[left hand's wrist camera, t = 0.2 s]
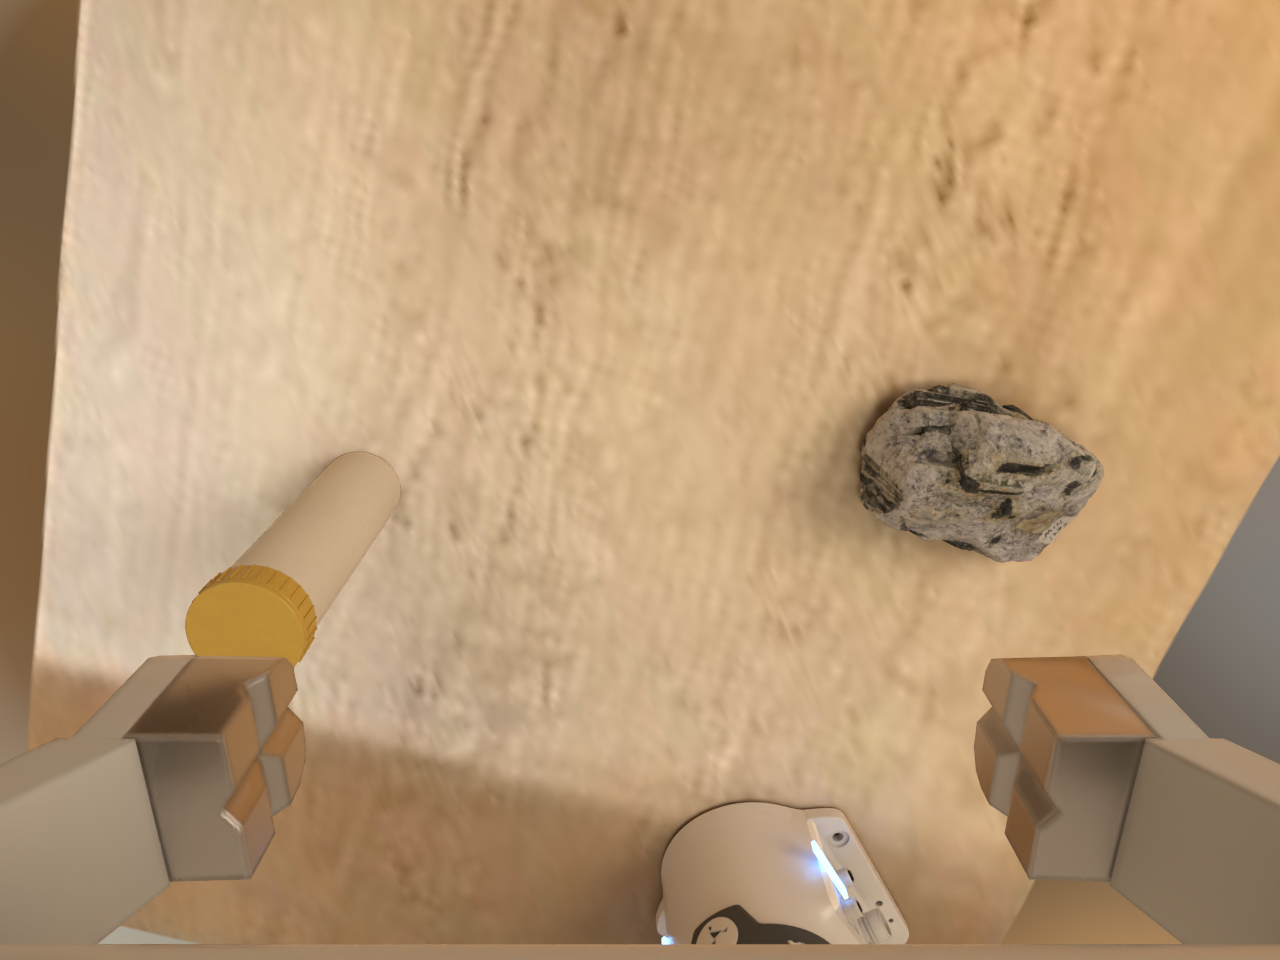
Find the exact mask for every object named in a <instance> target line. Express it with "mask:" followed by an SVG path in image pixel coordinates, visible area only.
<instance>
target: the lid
mask: <svg viewBox="0 0 1280 960" xmlns="http://www.w3.org/2000/svg"><path fill="white" fill-rule="evenodd" d="M198 594H199V595H198V596H197V597H196V598H195V599H194V600H193V601H192V604H191V606H190V607H189V610H188V612H187V616H186V625H185V628H186V635H187V639H188V642H189V644H190V646H191V648H192V650H193V652H194V653H195V655H197V656H246V657H285V658H286V659H287V660H288V661H289V662H290V663H291V664H292V665H293V668H294V667H295V665H296V664H297V663H298V661H299V662H300V661H301V660H302V658H303V656H304V655H305V653H306V652H307V650H308V649H309V647H310V645H311V643H312V642H313V640H314V638H315V637H314V634H315V631H316V630H317V627H316V619H317V616H316V614H315V610H314V607H315V606H314V605H313V604H312V602H311V600H310V598H309V595H307V593H306V592H305V591H304V589H303V588H302V586H301V585H299V584H298V583H297V582H296V581H294V580H293V579H292V577H289V576H287V575H286V574H284V573H282V572H281V571H277V570H275V569H272V568H269V567H268V566H266V567H264V566H258V565H256V564H253V565H245V566H243V565H240V566H239V567H235V568H231V567H230V568H228V569H227V571H225V572H223V573H221V572H220V573H218V574H217V575H216V577H215V578H214V579H213V580H212V579H211V580H210V581H209V582H208V583H207V584H206V585H205V586H204V587H203V589H202V590H201V591H200V592H199V593H198Z"/></svg>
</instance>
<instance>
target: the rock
mask: <svg viewBox="0 0 1280 960" xmlns="http://www.w3.org/2000/svg"><path fill="white" fill-rule="evenodd" d="M860 451H861V456H862V458H863V460H862V470H861V472H860V477H861V488H860V496H859V498H860V500H861V502H862V503H863V505H864V507H865V508H866V509H868V510H870V511H872V513H873V514H874V517H875V518H876V519H878V520H880V521H881V522H883V523H884V524H885V525H887V526H889V527H891V528H893V529H895V530H897V531H902V530H905V531H907V530H908V531H910V532H912V533H913V534H915V535H917V536H918V537H920V538H922V539H924V540H927V541H937V540H943V541H945V542H947V543H949V544H951V545H953V546H955V547H958V548H960V549H966V550H969V551H970V550H973V551H976V552H978V553H980V554H982V555H984V556H986V557H988V558H991V559H993V560H994V561H997V562H1007V561H1017V562H1021V561H1031V560H1032V559H1034V558H1035V557H1037V556H1038V555H1039V554H1040V553H1041V552H1042V551H1043V549H1044V548H1045V547H1046V546H1047V545H1049V544H1050V543H1051V542H1053V541H1054V540H1056V538H1057V537H1058V535H1059V533H1060V532H1061V530H1062V529H1063V528H1065V527H1066V526H1067V525H1068V524H1069V523H1070V522H1071V521H1072V520H1073V519H1074V518H1075V517H1076V516H1077V515H1078V514H1079V512H1080V511H1081V509H1082V508H1083V507H1084V506H1085V505H1086V503H1087V501H1088V499H1089V498H1090V497H1091V496H1092V495H1093V494H1094V492H1095V491H1096V489H1097V488H1098V486H1099V484H1100V481H1101V479H1102V477H1103V466H1102V465H1101V463H1100V461H1099V460H1098V459H1097V458H1096V457H1095V456H1094V455H1093V454H1092V453H1091V452H1089V451H1087V450H1086V449H1085V448H1084V447H1083V446H1082V445H1079V444H1076V443H1075V442H1074V441H1072V440H1070V439H1069V438H1067V437H1066V436H1065V435H1064V434H1062V433H1061V432H1059V431H1058V430H1057V429H1056V428H1054V427H1053V426H1052V425H1050V424H1047V423H1045V422H1041V421H1038V420H1035V419H1032V418H1030V417H1029V416H1028V415H1027V414H1026V413H1024V412H1023V411H1022V410H1020V409H1019V408H1017V407H1015V406H1014V405H1004V406H1003V407H1001V406H1000V405H999V404H997V403H996V402H995V401H994V400H993V399H991V398H990V397H989V396H987V395H985V394H980V393H979V392H978V391H977V390H975V389H970V388H967V387H964V386H961V385H958V384H949V386H948V388H946V387H942V386H936V387H934V388H932V389H930V390H928V389H920V388H913V389H911V390H910V391H907V392H905V393H903V394H901V395H900V396H899V397H898V398H897V399H896V400H895V402H894V403H893V404H892V405H891V407H890V408H889V410H888V411H887V412H885V413H884V414H883V415H882V416H881V417H879V418H878V420H877V422H876V423H875V425H874V427H873V428H872V429H871V430H870V431H869V432H868V433H867V434H866V436H865V438H864V441H863V443H862V445H861V450H860Z"/></svg>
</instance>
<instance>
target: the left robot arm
mask: <svg viewBox="0 0 1280 960" xmlns="http://www.w3.org/2000/svg"><path fill="white" fill-rule="evenodd" d="M297 690H298V688H297V684H296V679H295V674H294V669H293V665H292V664H291V663H290V662H289V661H288V660H287V659H286V658H285V657H246V656H197V655H167V656H156V657H151V658H148V659H147V660H146V661H145V662H144V663H143V664H142V665H141V666H140V667H139V668H138V669H137V670H136V672H135V673H134V674H133V675H132V676H131V677H130V678H129V679H128V680H127V681H126V682H125V683H124V684H123V685H122V686H121V687H120V688H119V689H118V690H117V691H116V692H115V693H114V694H113V695H112V696H111V697H110V698H109V699H108V701H107V702H106V703H105V704H104V705H103V706H102V707H101V708H100V709H99V710H98V711H97V712H96V713H95V714H94V715H93V716H92V717H91V718H90V719H89V720H88V721H87V722H86V723H85V724H84V725H83V726H82V727H81V728H80V729H79V731H78V732H77V733H76V734H75V735H74V736H73V737H72V738H71V739H54V740H52V741H50V742H48V743H46V744H44V745H41V746H39V747H37V748H35V749H33V750H31V751H28V752H26V753H24V754H22V755H20V756H17V757H15V758H13V759H11V760H9V761H7V762H4V763H2V764H0V960H1280V764H1278V763H1276V762H1273V761H1271V760H1269V759H1267V758H1265V757H1262V756H1260V755H1258V754H1256V753H1254V752H1252V751H1249V750H1247V749H1245V748H1243V747H1241V746H1239V745H1236V744H1234V743H1232V742H1230V741H1228V740H1225V739H1209V738H1208V737H1207V736H1206V735H1205V734H1204V733H1203V731H1202V730H1201V729H1200V728H1199V727H1198V726H1197V725H1196V724H1195V723H1194V722H1193V721H1192V720H1191V719H1190V718H1189V717H1188V716H1187V715H1186V714H1185V713H1184V712H1183V711H1182V710H1181V709H1180V708H1179V707H1178V706H1177V705H1176V703H1174V701H1173V700H1172V699H1171V698H1170V697H1169V696H1168V695H1167V694H1166V693H1165V692H1164V691H1163V690H1162V689H1161V688H1160V687H1159V686H1158V685H1157V684H1156V683H1155V682H1154V681H1153V680H1152V679H1151V678H1150V677H1149V675H1148V674H1147V673H1146V672H1145V671H1144V670H1143V669H1142V668H1141V667H1140V666H1139V665H1138V664H1137V663H1136V662H1135V661H1134V660H1133V659H1131V658H1128V657H1126V656H1124V655H1100V656H1078V657H1039V658H1000V659H991V661H990V663H989V665H988V667H987V669H986V671H985V677H984V683H983V688H982V690H983V692H984V694H985V695H986V697H987V698H988V700H989V702H990V703H991V705H992V707H991V708H990V709H989V710H988V711H987V713H986V714H985V715H984V716H983V717H982V718H981V719H980V720H979V721H978V722H977V726H976V734H975V742H974V753H975V764H976V772H977V776H978V779H979V782H980V786H981V789H982V791H983V793H984V795H985V797H986V799H987V801H988V803H989V804H990V805H991V806H993V807H994V808H996V809H997V810H998V811H1000V812H1001V813H1003V814H1004V815H1006V816H1007V817H1008V818H1007V823H1006V829H1005V835H1006V837H1007V839H1008V840H1009V842H1010V844H1011V846H1012V848H1013V850H1014V852H1015V853H1016V855H1017V857H1018V859H1019V861H1020V863H1021V865H1022V866H1023V868H1024V870H1025V872H1026V874H1027V876H1028V878H1029V879H1035V880H1071V881H1109V882H1110V886H1111V887H1113V888H1114V889H1115V890H1116V891H1117V892H1119V893H1120V894H1121V895H1122V896H1124V897H1125V898H1126V899H1127V900H1129V901H1130V902H1131V903H1132V904H1134V905H1135V906H1136V907H1138V908H1139V909H1140V910H1141V911H1143V912H1144V913H1145V914H1146V915H1148V916H1149V917H1150V918H1151V919H1152V920H1154V921H1155V922H1156V923H1157V924H1159V925H1160V926H1161V927H1162V928H1164V929H1165V930H1166V931H1167V932H1169V933H1170V934H1171V935H1173V936H1174V937H1175V938H1176V939H1177V940H1179V941H1180V942H1181V943H1182V944H98V943H99V942H100V941H101V940H103V939H104V938H105V937H107V936H108V935H109V934H110V933H112V932H113V931H114V930H115V929H116V928H118V927H119V926H120V925H122V924H123V923H124V922H125V921H127V920H128V919H129V918H130V917H132V916H133V915H134V914H135V913H137V912H138V911H139V910H140V909H142V908H143V907H144V906H145V905H147V904H148V903H149V902H150V901H152V900H153V899H154V898H155V897H157V896H158V895H159V894H160V893H162V892H163V891H164V890H165V889H167V888H168V887H169V886H170V882H172V881H207V880H242V879H251V878H252V876H253V874H254V872H255V870H256V868H257V867H258V865H259V863H260V861H261V859H262V857H263V855H264V853H265V852H266V850H267V848H268V846H269V844H270V842H271V840H272V839H273V837H274V835H275V829H274V823H273V818H272V817H273V816H274V815H276V814H277V813H279V812H280V811H282V810H283V809H284V808H286V807H287V806H289V805H290V804H291V802H292V800H293V798H294V796H295V794H296V792H297V790H298V788H299V786H300V783H301V778H302V774H303V769H304V765H305V755H306V739H305V732H304V726H303V722H302V721H301V720H300V719H299V718H298V717H297V716H296V715H295V714H294V713H293V712H292V710H291V709H290V708H289V707H288V705H289V703H290V702H291V700H292V698H293V697H294V695H295V694H296V692H297Z"/></svg>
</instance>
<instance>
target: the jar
mask: <svg viewBox="0 0 1280 960" xmlns="http://www.w3.org/2000/svg"><path fill="white" fill-rule="evenodd" d="M400 494H401V489H400V483H399V480H398V477H397V475H396V473H395V472H394V470H393V469H392V468H391V466H390V465H389V464H388V463H386V462H385V461H384V460H382V459H381V458H379V457H377V456H375V455H372V454H369V453H365V452H351V453H347V454H344V455H342V456H340V457H338V458H337V459H335V460H334V461H333V462H332V463H331V464H330V465H329V466H328V467H327V468H326V469H325V470H324V471H323V472H322V473H321V474H320V475H319V476H318V477H317V479H316V480H315V481H314V482H313V483H312V484H311V485H310V486H309V487H308V488H307V489H306V490H305V491H304V492H303V493H302V494H301V495H300V496H299V497H298V498H297V499H296V500H295V501H294V502H293V503H292V505H291V506H290V507H289V508H288V509H287V510H286V511H285V512H284V513H283V514H282V515H281V516H280V517H279V518H278V519H277V520H276V521H275V522H274V523H273V524H272V525H271V526H270V527H269V528H268V529H267V530H266V532H265V533H264V534H263V535H262V536H261V537H260V538H259V539H258V540H257V541H256V542H255V543H254V544H253V545H252V546H251V547H250V548H249V549H248V550H247V551H246V552H245V553H244V554H243V555H242V556H241V557H240V559H239V560H238V561H237V562H236V563H235V564H234V565H233V566H232V567H231V568H235V567H239V566H240V565H243V566H245V565H253V564H256V565H258V566H264V567H266V566H268V567H269V568H272V569H275V570H277V571H281V572H282V573H284V574H286V575H287V576H289V577H292V579H293V580H294V581H296V582H297V583H298V584H299V585H301V586H302V588H303V589H304V591H305V592H306V593H307V595H309V598H310V600H311V602H312V604H313V605H314V606H315V607H314V610H315V614H316V616H317V619H316V627H317V625H318V624H319V622H320V621H321V619H322V618H323V616H324V615H325V613H326V612H327V610H328V609H329V607H330V606H331V604H332V603H333V601H334V600H335V598H336V597H337V595H338V594H339V592H340V591H341V589H342V588H343V586H344V585H345V583H346V582H347V580H348V579H349V577H350V576H351V574H352V573H353V571H354V570H355V568H356V567H357V565H358V564H359V562H360V561H361V559H362V558H363V556H364V555H365V554H366V552H367V551H368V549H369V548H370V546H371V545H372V543H373V542H374V540H375V539H376V537H377V536H378V534H379V533H380V531H381V530H382V528H383V527H384V525H385V524H386V522H387V521H388V519H389V518H390V516H391V515H392V513H393V512H394V510H395V508H396V507H397V505H398V503H399V500H400Z"/></svg>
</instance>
